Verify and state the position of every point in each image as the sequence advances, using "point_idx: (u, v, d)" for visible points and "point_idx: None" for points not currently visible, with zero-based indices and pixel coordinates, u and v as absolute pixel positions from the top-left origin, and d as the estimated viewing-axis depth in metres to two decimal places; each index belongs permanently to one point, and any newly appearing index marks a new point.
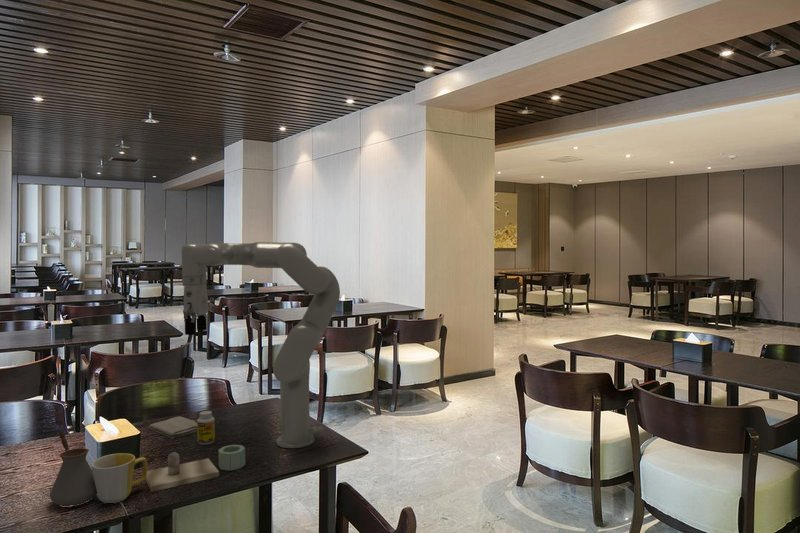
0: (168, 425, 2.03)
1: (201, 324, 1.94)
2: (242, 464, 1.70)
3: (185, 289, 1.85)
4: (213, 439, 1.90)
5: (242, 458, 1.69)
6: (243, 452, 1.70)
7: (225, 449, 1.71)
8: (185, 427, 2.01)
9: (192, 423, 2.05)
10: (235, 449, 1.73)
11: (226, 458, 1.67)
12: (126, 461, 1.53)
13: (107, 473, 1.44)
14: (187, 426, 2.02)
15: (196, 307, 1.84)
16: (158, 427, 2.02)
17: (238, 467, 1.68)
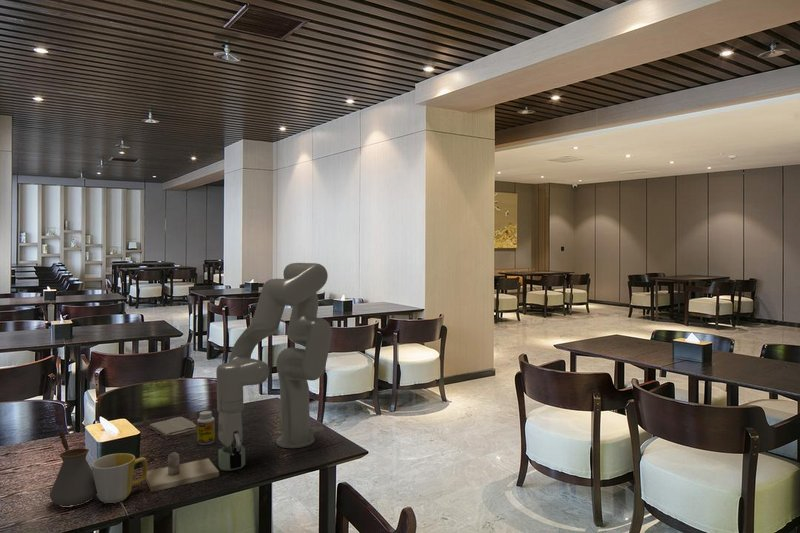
0: (166, 425, 2.03)
1: None
2: (242, 464, 1.70)
3: None
4: (213, 439, 1.90)
5: (242, 458, 1.69)
6: (243, 452, 1.70)
7: (225, 449, 1.71)
8: (181, 428, 2.00)
9: (189, 424, 2.03)
10: None
11: (226, 458, 1.67)
12: (126, 461, 1.53)
13: (107, 473, 1.44)
14: (183, 427, 2.01)
15: None
16: (156, 427, 2.02)
17: (238, 467, 1.68)
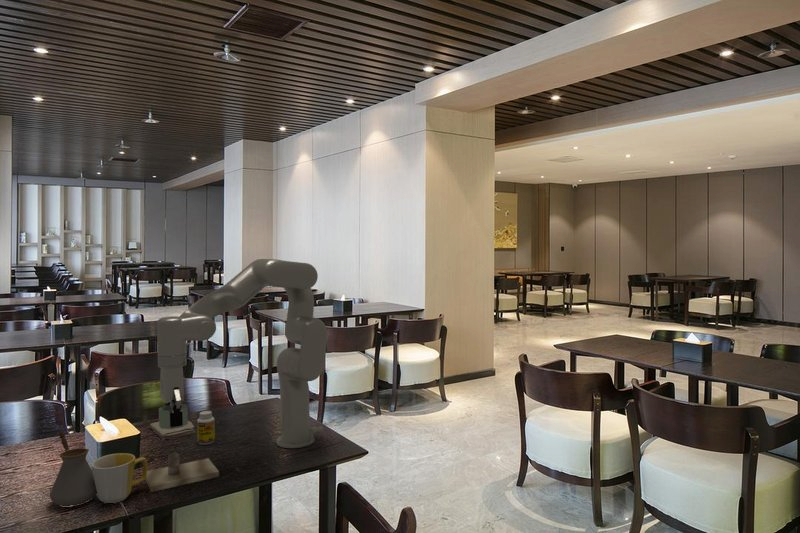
0: None
1: None
2: (184, 423, 1.60)
3: None
4: (213, 439, 1.90)
5: (184, 417, 1.60)
6: (185, 410, 1.61)
7: (166, 408, 1.62)
8: (179, 429, 1.99)
9: (187, 425, 2.02)
10: None
11: (166, 416, 1.58)
12: (126, 461, 1.53)
13: (107, 473, 1.44)
14: (181, 428, 2.00)
15: None
16: (155, 427, 2.02)
17: (179, 426, 1.59)
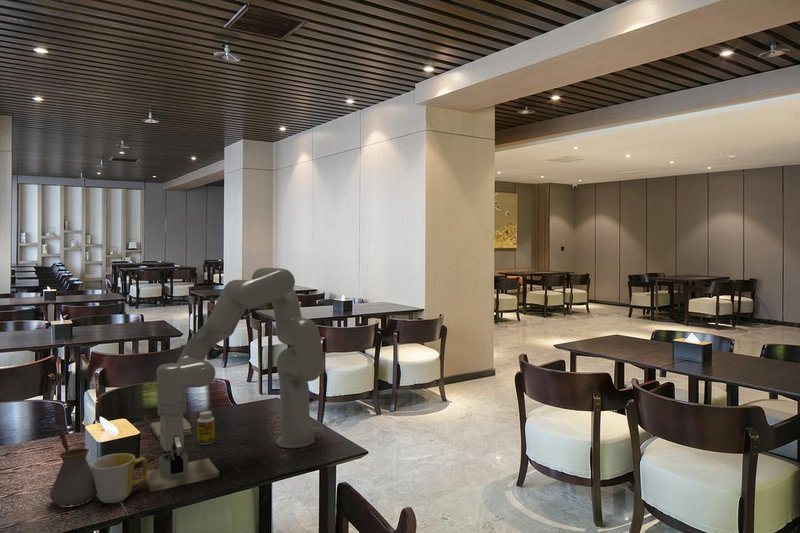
0: None
1: None
2: (184, 472, 1.61)
3: None
4: (213, 439, 1.90)
5: (184, 465, 1.61)
6: (185, 459, 1.61)
7: (167, 456, 1.63)
8: None
9: (185, 426, 2.01)
10: None
11: (166, 466, 1.58)
12: (126, 461, 1.53)
13: (107, 473, 1.44)
14: None
15: None
16: (153, 427, 2.02)
17: (179, 475, 1.59)
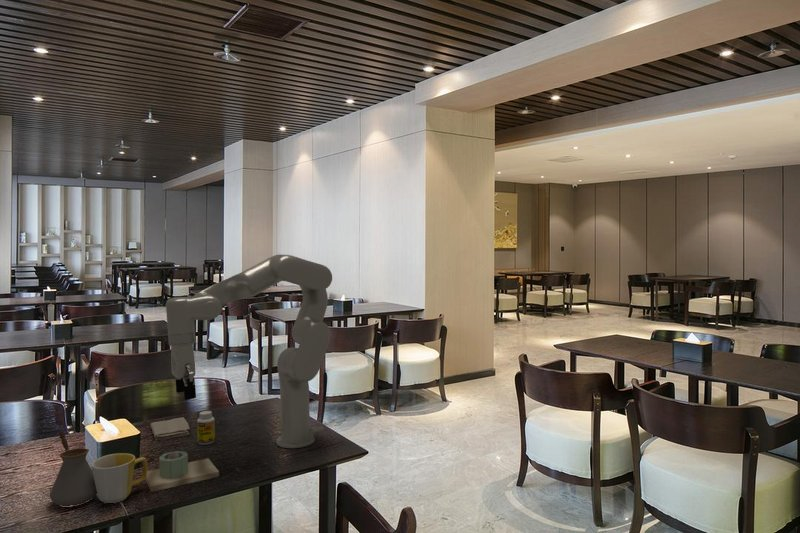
0: (162, 426, 2.02)
1: None
2: (184, 472, 1.61)
3: None
4: (213, 439, 1.90)
5: (184, 465, 1.61)
6: (185, 459, 1.61)
7: (167, 456, 1.63)
8: (173, 430, 1.98)
9: (183, 426, 2.01)
10: None
11: (166, 466, 1.58)
12: (126, 461, 1.53)
13: (107, 473, 1.44)
14: (175, 429, 1.98)
15: None
16: (152, 427, 2.02)
17: (179, 475, 1.59)
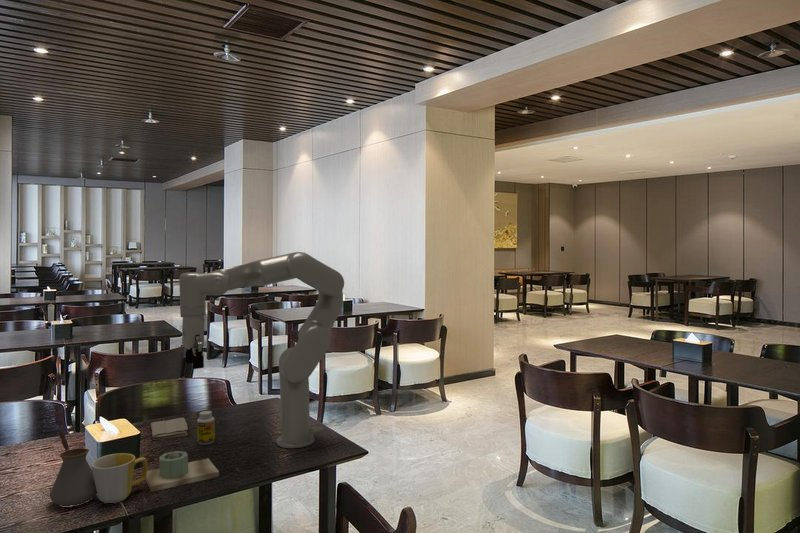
0: (161, 426, 2.02)
1: None
2: (184, 472, 1.61)
3: None
4: (213, 439, 1.90)
5: (184, 465, 1.61)
6: (185, 459, 1.61)
7: (167, 456, 1.63)
8: (171, 430, 1.98)
9: (181, 427, 2.00)
10: None
11: (166, 466, 1.58)
12: (126, 461, 1.53)
13: (107, 473, 1.44)
14: (173, 430, 1.98)
15: None
16: (152, 427, 2.02)
17: (179, 475, 1.59)
